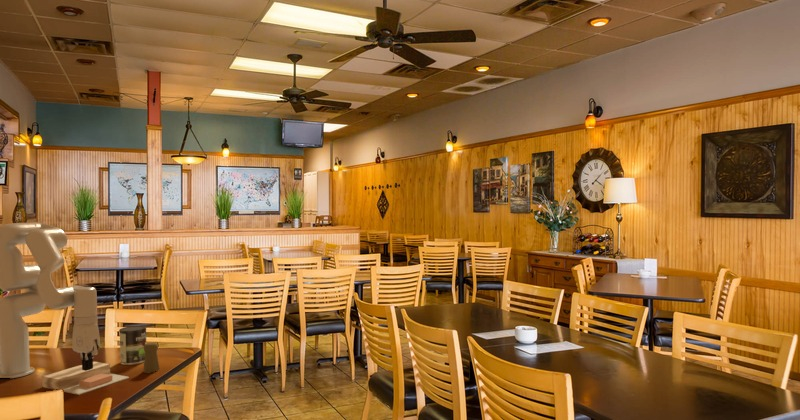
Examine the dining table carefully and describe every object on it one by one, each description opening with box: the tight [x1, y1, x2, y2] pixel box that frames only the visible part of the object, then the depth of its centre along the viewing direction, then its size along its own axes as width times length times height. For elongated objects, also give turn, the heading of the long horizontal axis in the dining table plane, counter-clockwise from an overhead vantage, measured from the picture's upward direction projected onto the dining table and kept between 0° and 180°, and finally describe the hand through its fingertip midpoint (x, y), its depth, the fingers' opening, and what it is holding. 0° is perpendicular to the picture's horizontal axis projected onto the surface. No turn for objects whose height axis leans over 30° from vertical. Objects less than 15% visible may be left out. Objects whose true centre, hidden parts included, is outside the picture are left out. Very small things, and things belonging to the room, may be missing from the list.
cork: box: [142, 342, 160, 374], centre depth 221 cm, size 6×6×11 cm
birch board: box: [41, 360, 111, 391], centre depth 211 cm, size 10×20×4 cm, turn 154°
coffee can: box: [118, 325, 147, 366], centre depth 235 cm, size 10×10×14 cm
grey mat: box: [63, 373, 130, 396], centre depth 206 cm, size 11×20×1 cm, turn 154°
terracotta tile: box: [79, 373, 113, 388], centre depth 206 cm, size 6×9×2 cm, turn 154°
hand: (87, 369), depth 208 cm, fingers closed
